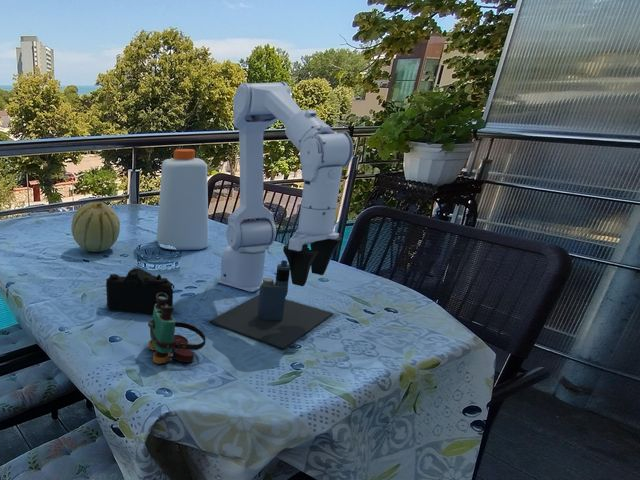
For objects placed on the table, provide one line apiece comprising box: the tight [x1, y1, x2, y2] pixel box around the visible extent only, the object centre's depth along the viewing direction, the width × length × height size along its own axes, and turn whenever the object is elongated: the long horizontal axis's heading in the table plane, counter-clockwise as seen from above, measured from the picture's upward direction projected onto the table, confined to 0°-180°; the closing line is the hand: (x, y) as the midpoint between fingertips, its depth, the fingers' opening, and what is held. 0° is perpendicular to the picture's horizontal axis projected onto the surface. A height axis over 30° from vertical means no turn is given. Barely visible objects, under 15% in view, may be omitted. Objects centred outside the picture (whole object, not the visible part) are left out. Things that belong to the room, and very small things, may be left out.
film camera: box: [105, 267, 175, 316], centre depth 101 cm, size 15×10×9 cm, turn 71°
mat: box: [209, 294, 334, 351], centre depth 94 cm, size 16×20×1 cm
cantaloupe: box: [70, 201, 121, 253], centre depth 138 cm, size 15×15×15 cm
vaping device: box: [257, 259, 291, 320], centre depth 91 cm, size 3×5×12 cm, turn 79°
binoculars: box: [147, 293, 207, 365], centre depth 81 cm, size 9×11×10 cm
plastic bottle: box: [156, 148, 210, 251], centre depth 138 cm, size 15×15×28 cm
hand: (308, 279), depth 86 cm, fingers open, 7 cm apart
